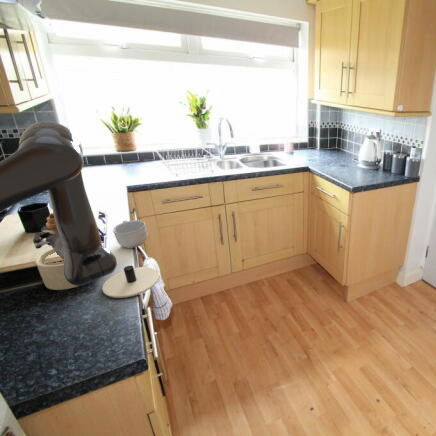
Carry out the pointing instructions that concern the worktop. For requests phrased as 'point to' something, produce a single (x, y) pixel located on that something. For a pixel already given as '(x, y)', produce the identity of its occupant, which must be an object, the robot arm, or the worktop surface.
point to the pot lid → (130, 282)
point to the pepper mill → (51, 223)
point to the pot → (52, 272)
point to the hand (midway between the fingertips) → (55, 226)
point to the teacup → (131, 233)
